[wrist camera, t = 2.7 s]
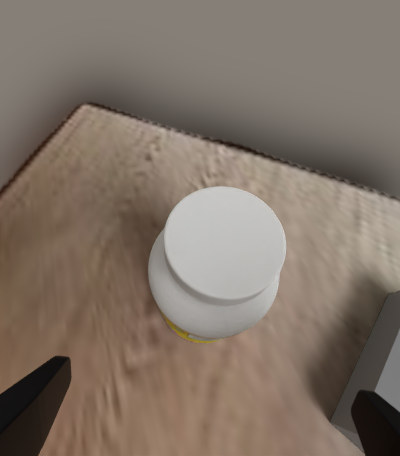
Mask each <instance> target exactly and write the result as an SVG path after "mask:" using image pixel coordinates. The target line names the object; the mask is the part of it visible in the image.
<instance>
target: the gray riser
mask: <svg viewBox="0 0 400 456" xmlns="http://www.w3.org/2000/svg"><path fill="white" fill-rule="evenodd" d="M360 389H364V390H372V391H374V392H376V393H377V394H379V395H380V396H381V397H382V398H383V399H385V400H386V401H387V402H388V403H389V404H391V405H392V406H393V407H394V408H396V409H397V410H398V411H399V412H400V291H397V292H394V293H390V294H388V296H387V299H386V301H385V303H384V305H383V307H382V309H381V312H380V314H379V316H378V318H377V320H376V322H375V325H374V327H373V329H372V331H371V333H370V336H369V338H368V340H367V342H366V344H365V346H364V349H363V351H362V353H361V355H360V357H359V360H358V362H357V364H356V366H355V368H354V370H353V373H352V375H351V377H350V379H349V381H348V383H347V386H346V388H345V390H344V392H343V394H342V397H341V399H340V401H339V403H338V405H337V407H336V410H335V412H334V414H333V416H332V418H331V420H330V423H331V424H332V425H333V426H335V427H336V428H337V429H338V430H339V431H340V432H341V433H342V434H343V435H345V436H346V437H347V438H348V439H349V440H350V441H351V442H352V443H353V444H354V445H356V446H357V447H358V448H359V449H360V450H361V451H362V452H363V453H364V450H363V447H362V445H361V442H360V439H359V436H358V433H357V431H356V428H355V425H354V422H353V419H352V416H351V406H352V403H353V401H354V399H355V396H356V394H357V392H358V391H359V390H360ZM364 454H365V453H364Z"/></svg>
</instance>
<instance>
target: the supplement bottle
mask: <svg viewBox="0 0 400 456" xmlns="http://www.w3.org/2000/svg"><path fill="white" fill-rule="evenodd" d="M285 255H286V240H285V234H284V231H283V228H282V225H281V223H280V221H279V219H278V218H277V216H276V214H275V213H274V212H273V211H272V209H271V208H270V207H269V206H268V205H267V204H266V203H264V202H263V201H262V200H261V199H259V198H258V197H256V196H254V195H253V194H251V193H249V192H247V191H244V190H241V189H237V188H233V187H224V186H217V187H209V188H204V189H201V190H198V191H195V192H193V193H191V194H189V195H188V196H186V197H185V198H183V199H182V200H181V201H180V202H179V203H178V204H177V205H176V206H175V207H174V208H173V210H172V211H171V213H170V214H169V217H168V219H167V221H166V224H165V228H164V229H163V230H162V231H161V233H160V234H159V235H158V237H157V239H156V240H155V242H154V244H153V247H152V250H151V253H150V257H149V263H148V278H149V285H150V288H151V291H152V294H153V297H154V299H155V301H156V303H157V305H158V307H159V309H160V312H161V314H162V316H163V318H164V320H165V321H166V323H167V325H168V326H169V327H170V328H171V330H172V331H173V332H174V333H176V334H177V335H178V336H180V337H181V338H183V339H185V340H187V341H190V342H194V343H210V342H215V341H218V340H221V339H224V338H227V337H230V336H234V335H236V334H239V333H241V332H243V331H245V330H247V329H249V328H251V327H252V326H254V325H255V324H256V323H257V322H259V321H260V320H261V319H262V318H263V316H264V315H265V314H266V313H267V311H268V310H269V309H270V307H271V305H272V303H273V301H274V299H275V296H276V294H277V291H278V286H279V272H280V270H281V268H282V266H283V263H284V260H285Z"/></svg>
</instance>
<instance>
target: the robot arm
mask: <svg viewBox="0 0 400 456" xmlns="http://www.w3.org/2000/svg"><path fill="white" fill-rule="evenodd" d="M70 382H71V361H70V358H69V357H66V356H55V357H53V358H51V359H50V360H48V361H47V362H46V363H44V364H43V365H41V366H40V367H38V368H37V369H36V370H34V371H33V372H31V373H30V374H28V375H27V376H26V377H24V378H23V379H21V380H20V381H18V382H17V383H16V384H14V385H13V386H11V387H10V388H8V389H7V390H6V391H4V392H3V393H1V394H0V456H38V455H39V453H40V451H41V449H42V447H43V445H44V443H45V440H46V438H47V436H48V434H49V432H50V429H51V427H52V425H53V422H54V420H55V418H56V415H57V413H58V411H59V408H60V406H61V404H62V402H63V399H64V397H65V395H66V392H67V390H68V388H69V385H70ZM351 416H352V419H353V422H354V425H355V428H356V431H357V433H358V436H359V439H360V442H361V445H362V447H363V450H364V453H365V456H400V412H399V411H398V410H397V409H396V408H394V407H393V406H392V405H391V404H389V403H388V402H387V401H386V400H385V399H383V398H382V397H381V396H380V395H379V394H377V393H376V392H374V391H372V390H364V389H360V390H359V391H358V392H357V394H356V396H355V399H354V401H353V403H352V406H351Z"/></svg>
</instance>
